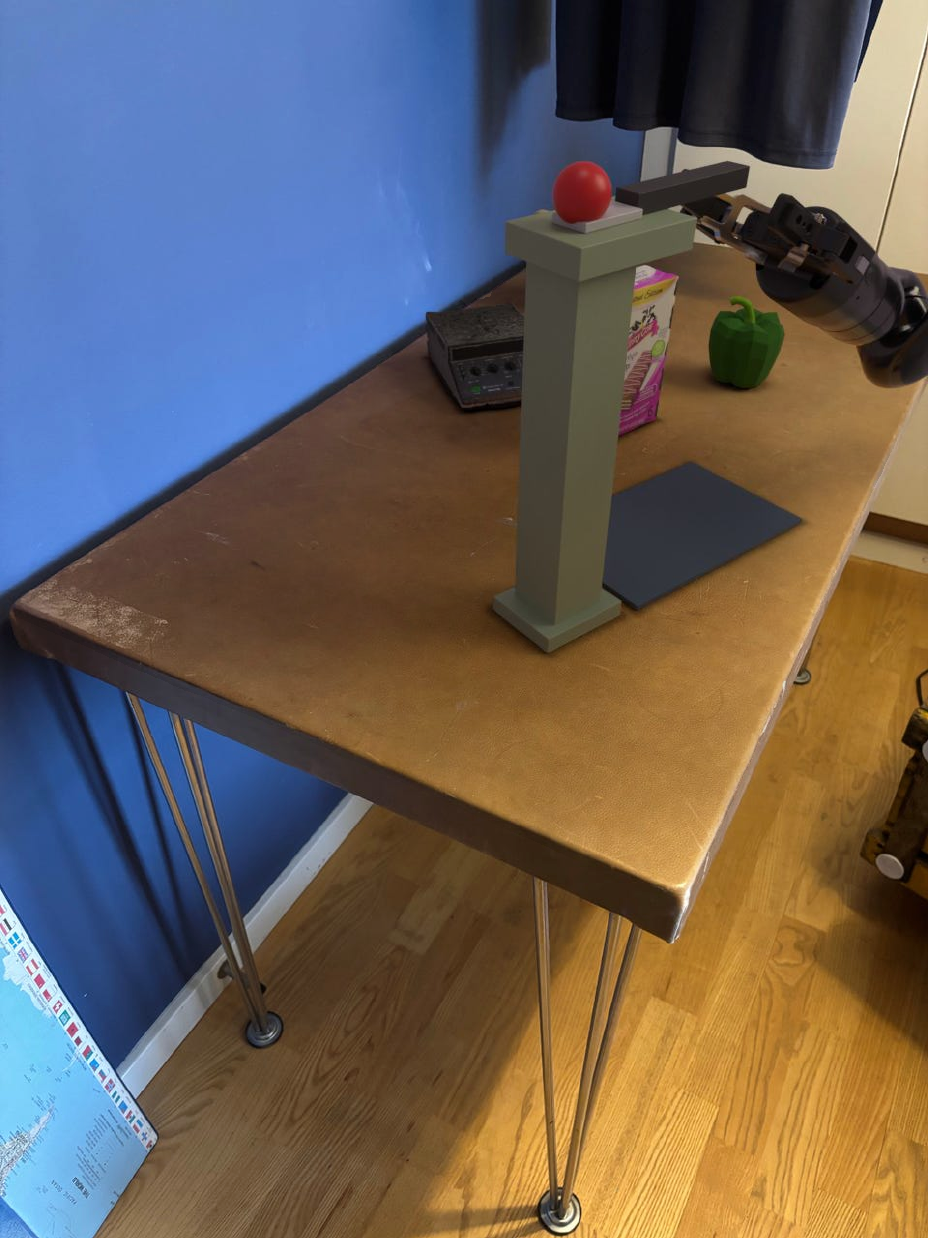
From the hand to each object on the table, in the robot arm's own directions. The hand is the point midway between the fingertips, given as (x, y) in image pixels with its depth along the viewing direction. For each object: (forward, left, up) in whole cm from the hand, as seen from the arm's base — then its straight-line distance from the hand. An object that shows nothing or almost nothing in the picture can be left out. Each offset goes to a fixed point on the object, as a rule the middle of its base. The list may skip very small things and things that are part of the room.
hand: (725, 194), depth 63 cm
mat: (0, -4, -31) cm, 31 cm away
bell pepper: (-6, -40, -31) cm, 51 cm away
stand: (+8, +9, -31) cm, 33 cm away
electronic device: (+24, -34, -31) cm, 52 cm away
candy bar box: (+8, -24, -31) cm, 40 cm away
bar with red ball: (+5, +6, 0) cm, 7 cm away
